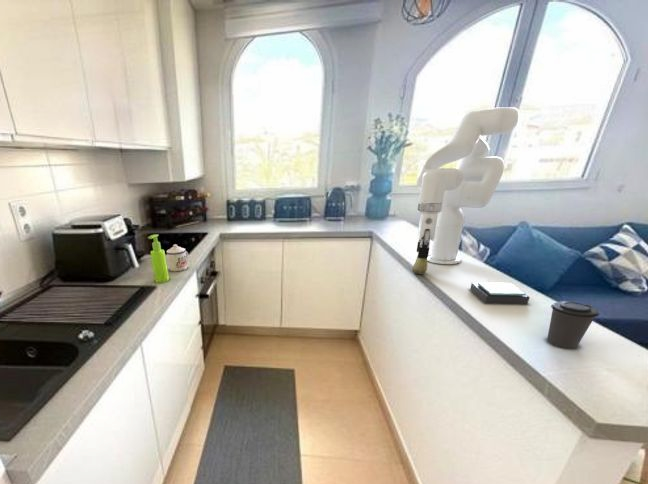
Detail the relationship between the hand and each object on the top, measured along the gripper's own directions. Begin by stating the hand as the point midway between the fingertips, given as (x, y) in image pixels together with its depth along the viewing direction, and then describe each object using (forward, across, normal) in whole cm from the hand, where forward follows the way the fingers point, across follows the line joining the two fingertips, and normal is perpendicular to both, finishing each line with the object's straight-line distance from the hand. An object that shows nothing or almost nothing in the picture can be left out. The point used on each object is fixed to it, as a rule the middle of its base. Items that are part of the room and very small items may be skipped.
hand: (421, 254), depth 130 cm
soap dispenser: (+8, -29, +101) cm, 105 cm away
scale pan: (+5, -21, -21) cm, 30 cm away
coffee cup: (+8, -49, -28) cm, 57 cm away
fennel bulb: (+8, 0, 0) cm, 8 cm away
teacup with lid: (+8, -10, +102) cm, 103 cm away
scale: (+8, -20, -21) cm, 30 cm away
